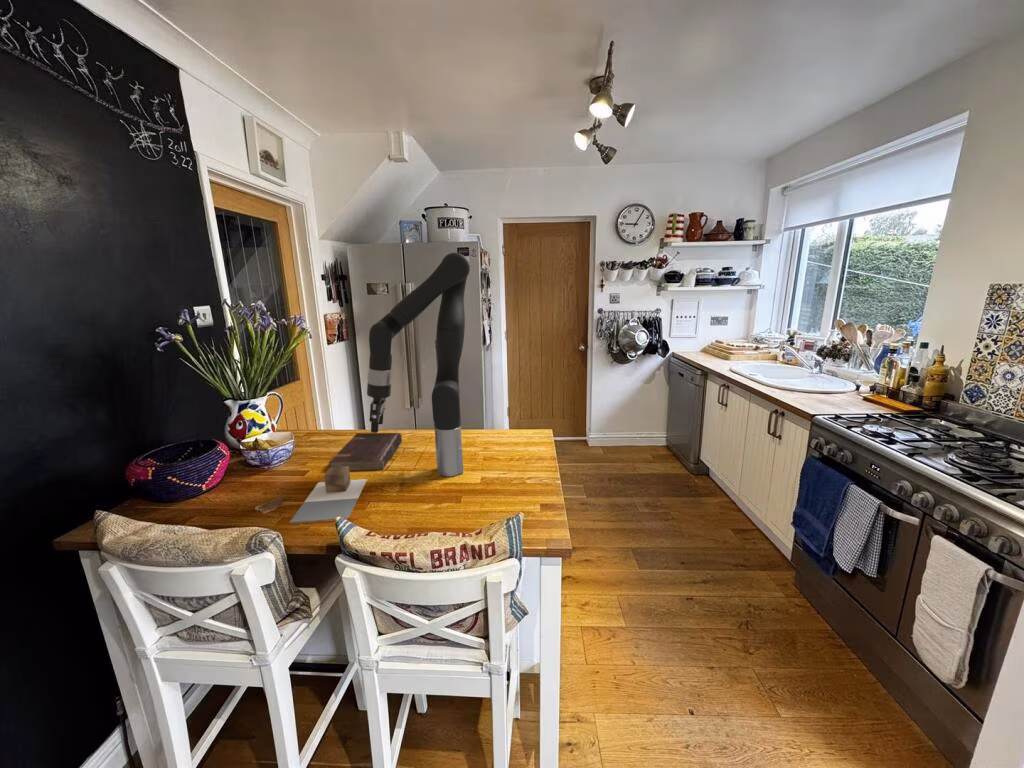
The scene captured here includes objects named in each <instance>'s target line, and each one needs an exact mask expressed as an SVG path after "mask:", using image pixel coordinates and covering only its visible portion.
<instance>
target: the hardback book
mask: <svg viewBox="0 0 1024 768" xmlns="http://www.w3.org/2000/svg"><path fill="white" fill-rule="evenodd" d="M402 442H403V437H402V433H401V432H383V433H382V432H379V433H378V432H377V433H372V432H368V433H367V432H366V433H365V432H359V433H357V432H356V434H355V435H354V436H353V437H352V438H351V439H350V440H349V441H348V442H347V443H346V444H345V445H344V446H343V447H342V448H341V449H340V450H339V451H337V453H336V454H335V455H334V456H333V458H332V459H330V461H328V464H329V468H330V467H345V466H349V472H351V471H353V472H354V471H379V470H380V471H383V470H384V469H385V468H386V466H387V464H388V463H389V462H390V461H391V460H392V459H391V458H393V457H394V456H395V454H394V453H396V452H397V451H398V449H399V447H400V446H401V444H402ZM399 445H400V446H399Z"/></svg>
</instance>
